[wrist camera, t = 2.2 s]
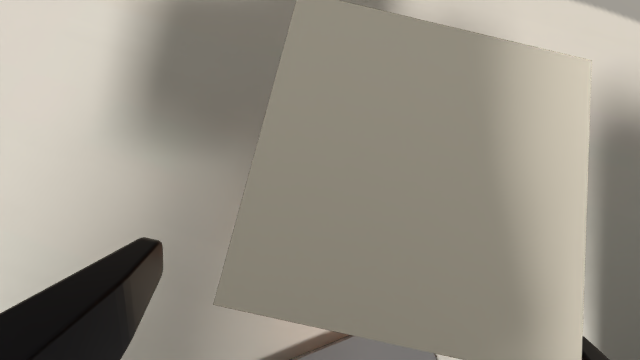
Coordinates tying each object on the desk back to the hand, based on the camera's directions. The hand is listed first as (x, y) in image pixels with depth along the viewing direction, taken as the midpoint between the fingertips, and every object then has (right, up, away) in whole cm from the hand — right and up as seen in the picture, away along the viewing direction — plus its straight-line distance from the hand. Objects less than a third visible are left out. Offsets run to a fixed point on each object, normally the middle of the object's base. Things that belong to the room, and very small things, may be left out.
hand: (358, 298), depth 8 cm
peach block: (0, 0, +10) cm, 10 cm away
